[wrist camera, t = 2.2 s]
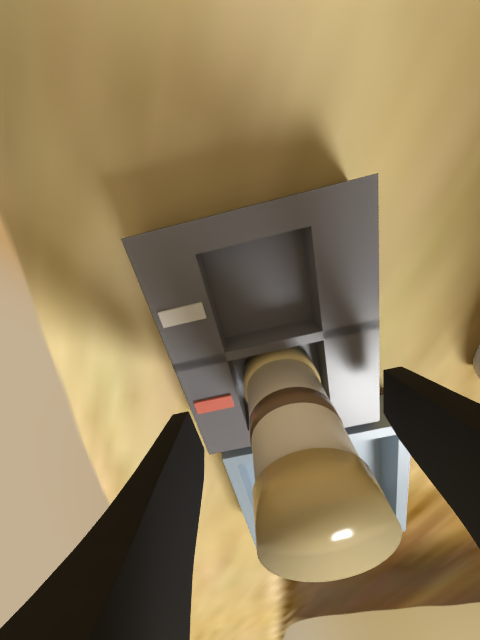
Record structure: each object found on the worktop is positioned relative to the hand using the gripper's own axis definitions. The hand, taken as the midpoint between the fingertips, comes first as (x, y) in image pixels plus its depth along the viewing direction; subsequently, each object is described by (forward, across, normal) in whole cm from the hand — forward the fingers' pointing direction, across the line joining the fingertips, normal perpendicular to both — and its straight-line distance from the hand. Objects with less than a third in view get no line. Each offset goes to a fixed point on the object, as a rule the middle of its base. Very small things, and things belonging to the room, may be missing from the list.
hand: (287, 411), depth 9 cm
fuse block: (+3, 0, -2) cm, 4 cm away
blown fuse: (+2, 0, 0) cm, 3 cm away
